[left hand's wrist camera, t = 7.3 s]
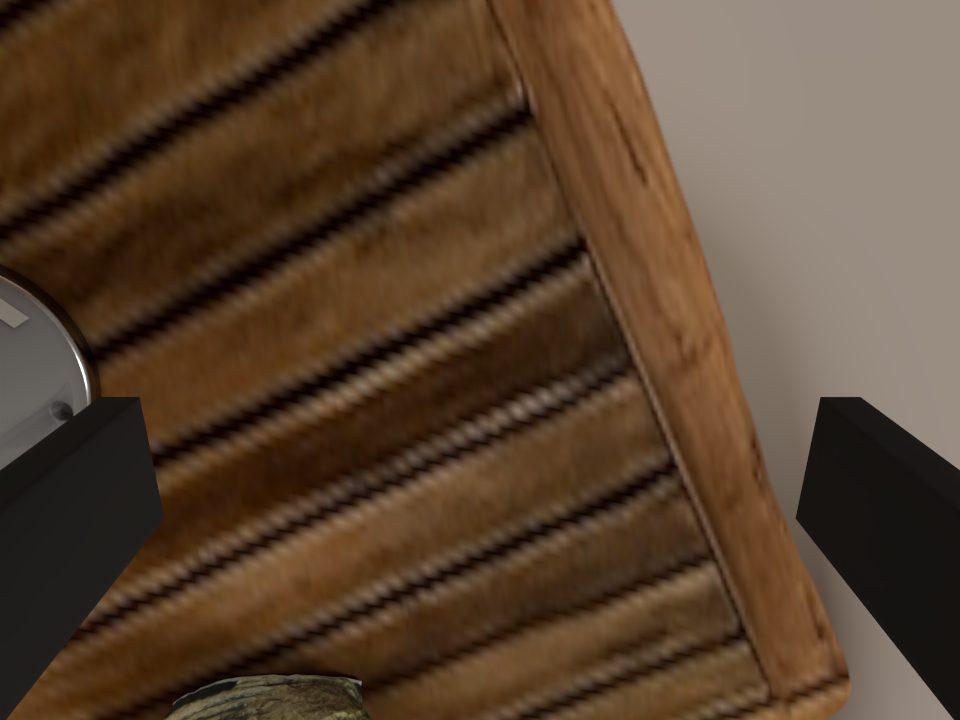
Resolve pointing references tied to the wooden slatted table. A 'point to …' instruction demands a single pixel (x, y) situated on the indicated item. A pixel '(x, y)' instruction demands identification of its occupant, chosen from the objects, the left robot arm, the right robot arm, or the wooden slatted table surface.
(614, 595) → the wooden slatted table surface
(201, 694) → the fossil
